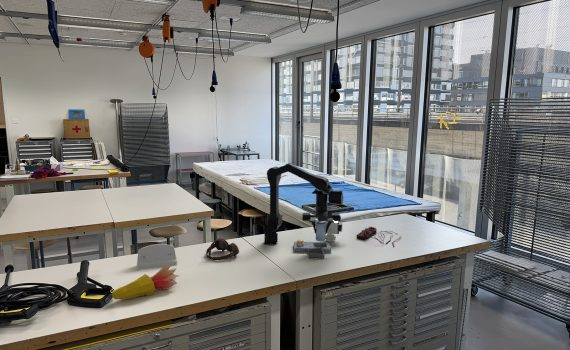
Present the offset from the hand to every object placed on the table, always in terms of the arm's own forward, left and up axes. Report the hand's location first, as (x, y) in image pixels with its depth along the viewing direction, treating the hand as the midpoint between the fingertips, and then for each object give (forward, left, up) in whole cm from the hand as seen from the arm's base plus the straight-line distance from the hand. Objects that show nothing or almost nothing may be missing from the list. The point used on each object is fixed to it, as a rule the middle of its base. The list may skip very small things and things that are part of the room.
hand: (320, 233), depth 189 cm
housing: (-4, 0, -8) cm, 9 cm away
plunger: (-10, 0, -8) cm, 13 cm away
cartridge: (0, 0, -3) cm, 3 cm away
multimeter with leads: (+35, +20, -9) cm, 41 cm away
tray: (-3, -9, -8) cm, 13 cm away
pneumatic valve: (+7, +14, -8) cm, 17 cm away
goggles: (-48, -11, -8) cm, 50 cm away
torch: (-69, -50, -8) cm, 85 cm away
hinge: (-74, -23, -8) cm, 78 cm away
